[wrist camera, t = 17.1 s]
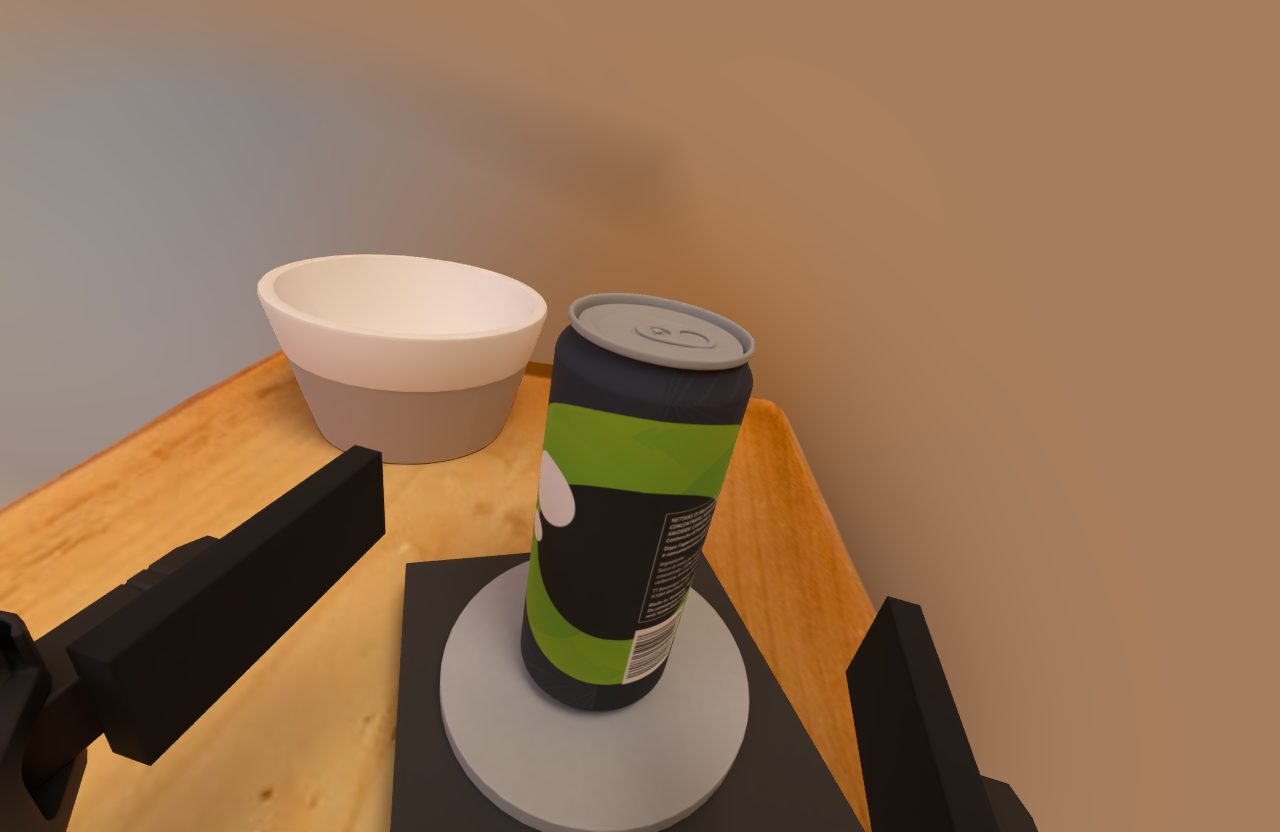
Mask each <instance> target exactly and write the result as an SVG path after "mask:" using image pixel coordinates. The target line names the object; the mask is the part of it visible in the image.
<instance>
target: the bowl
mask: <svg viewBox="0 0 1280 832" xmlns="http://www.w3.org/2000/svg"><path fill="white" fill-rule="evenodd" d="M257 293H258V297H259V299H260V302H261V304H262V306H263V308H264V311H265V313H266V315H267V317H268V319H269V322H270V324H271V326H272V328H273V330H274V333H275V335H276V337H277V339H278V342H279V344H280V346H281V348H282V350H283V351H284V353H285V355H286V358H287V360H288V362H289V364H290V366H291V369H292V371H293V373H294V375H295V377H296V380H297V382H298V384H299V386H300V388H301V391H302V393H303V395H304V397H305V399H306V402H307V404H308V406H309V408H310V411H311V413H312V415H313V417H314V419H315V422H316V424H317V426H318V428H319V430H320V432H321V433H322V435H323V436H324V437H325V439H326V440H327V441H329V442H330V443H331V444H332V445H334V446H335V447H337V448H339V449H341V450H343V451H347V450H348V449H350V448H351V447H353V446H354V445H358V446H362V447H365V448H369V449H372V450H376V451H380V452H382V462H386V463H400V464H419V463H433V462H439V461H446V460H451V459H454V458H458V457H462V456H466V455H468V454H470V453H473V452H475V451H478V450H480V449H482V448H483V447H485V446H486V445H488V444H490V443H491V442H492V441H493V440H494V439H495V438H496V437H497V436H498V435H499V434H500V432H501V430H502V429H503V427H504V424H505V422H506V419H507V417H508V414H509V411H510V409H511V406H512V403H513V401H514V398H515V396H516V393H517V390H518V388H519V385H520V382H521V380H522V377H523V374H524V372H525V369H526V367H527V364H528V361H529V359H530V357H531V355H532V352H533V350H534V347H535V344H536V342H537V339H538V336H539V334H540V331H541V329H542V326H543V323H544V321H545V318H546V315H547V305H546V303H545V301H544V299H543V298H542V297H541V295H539V294H538V293H537V292H536V291H535V290H533V289H532V288H530V287H529V286H527V285H525V284H523V283H521V282H519V281H517V280H515V279H512V278H510V277H507V276H505V275H502V274H499V273H496V272H493V271H489V270H486V269H482V268H478V267H474V266H470V265H465V264H460V263H455V262H450V261H444V260H437V259H430V258H421V257H411V256H397V255H341V256H329V257H320V258H313V259H307V260H302V261H297V262H292V263H289V264H286V265H283V266H281V267H278V268H275V269H273V270H272V271H270V272H268V273H267V274H265V275H264V276H263V277H262V279H261V280H260V281H259V283H258V285H257Z"/></svg>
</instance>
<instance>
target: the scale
mask: <svg viewBox="0 0 1280 832" xmlns="http://www.w3.org/2000/svg"><path fill="white" fill-rule="evenodd" d="M530 555H531V553H521V554H509V555H497V556H486V557H474V558H463V559H451V560H439V561H428V562H416V563H407V564H406V573H405V590H404V607H403V624H402V641H401V658H400V675H399V692H398V709H397V726H396V743H395V760H394V777H393V794H392V811H391V828H390V832H865V831H864V829H863V827H862V826H861V824H860V822H859V820H858V819H857V817H856V815H855V814H854V812H853V810H852V808H851V807H850V805H849V803H848V801H847V800H846V798H845V796H844V795H843V793H842V791H841V789H840V788H839V786H838V784H837V783H836V781H835V779H834V777H833V776H832V774H831V772H830V771H829V769H828V767H827V765H826V764H825V762H824V760H823V759H822V757H821V755H820V753H819V752H818V750H817V748H816V747H815V745H814V743H813V741H812V740H811V738H810V736H809V735H808V733H807V731H806V729H805V728H804V726H803V724H802V722H801V721H800V719H799V717H798V716H797V714H796V712H795V710H794V709H793V707H792V705H791V704H790V702H789V700H788V698H787V697H786V695H785V693H784V692H783V690H782V688H781V686H780V685H779V683H778V681H777V680H776V678H775V676H774V674H773V673H772V671H771V669H770V668H769V666H768V664H767V662H766V661H765V659H764V657H763V656H762V654H761V652H760V650H759V649H758V647H757V645H756V643H755V642H754V640H753V638H752V637H751V635H750V633H749V631H748V630H747V628H746V626H745V625H744V623H743V621H742V619H741V618H740V616H739V614H738V613H737V611H736V609H735V607H734V606H733V604H732V602H731V601H730V599H729V597H728V595H727V594H726V592H725V590H724V589H723V587H722V585H721V583H720V582H719V580H718V578H717V577H716V575H715V573H714V571H713V570H712V568H711V566H710V564H709V563H708V561H707V559H706V558H705V556H704V554H703V552H702V551H701V555H700V558H699V561H698V564H697V567H696V571H695V574H694V577H693V580H692V583H691V587H690V590H689V593H688V596H687V599H686V603H685V606H684V609H683V612H682V615H681V619H680V622H679V625H678V628H677V631H676V635H675V638H674V641H673V644H672V647H671V651H670V654H669V657H668V660H667V663H666V666H665V669H664V672H663V674H662V676H661V678H660V680H659V681H658V683H657V684H656V686H655V687H654V688H653V689H652V690H651V691H650V692H649V693H648V694H647V695H646V696H644V697H643V698H642V699H640V700H639V701H637V702H635V703H633V704H631V705H629V706H626V707H623V708H620V709H616V710H610V711H587V710H581V709H577V708H574V707H571V706H568V705H565V704H563V703H561V702H559V701H557V700H556V699H554V698H552V697H551V696H549V695H548V694H547V693H546V692H544V691H543V690H542V689H541V688H540V687H539V686H538V685H537V684H536V682H535V681H534V680H533V679H532V677H531V676H530V674H529V672H528V671H527V669H526V666H525V664H524V661H523V658H522V653H521V630H522V622H523V614H524V605H525V597H526V589H527V580H528V572H529V563H530Z"/></svg>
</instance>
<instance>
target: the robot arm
mask: <svg viewBox="0 0 1280 832" xmlns="http://www.w3.org/2000/svg"><path fill="white" fill-rule="evenodd" d="M384 534H385V510H384V488H383V465H382V452H380V451H376V450H372V449H369V448H365V447H362V446H358V445H354V446H353V447H351V448H350V449H348V450H347V451H345V452H344V453H343V454H341V455H340V456H338V457H337V458H335V459H334V460H333V461H331V462H330V463H328V464H327V465H325V466H324V467H323V468H321V469H320V470H318V471H317V472H315V473H314V474H313V475H311V476H310V477H308V478H307V479H305V480H304V481H303V482H301V483H300V484H298V485H297V486H295V487H294V488H292V489H291V490H290V491H288V492H287V493H285V494H284V495H282V496H281V497H280V498H278V499H277V500H275V501H274V502H272V503H271V504H270V505H268V506H267V507H265V508H264V509H262V510H261V511H260V512H258V513H257V514H255V515H254V516H252V517H251V518H250V519H248V520H247V521H245V522H244V523H242V524H241V525H240V526H238V527H237V528H235V529H234V530H232V531H231V532H230V533H228V534H227V535H225V536H224V537H222V538H221V539H217V538H214V537H211V536H208V535H207V536H205V537H202V538H200V539H197V540H195V541H192V542H190V543H187V544H185V545H182V546H180V547H177V548H175V549H174V550H172V551H171V552H169V553H168V554H166V555H165V556H163V557H162V558H160V559H159V560H157V561H156V562H154V563H153V564H151V565H150V566H149V568H148V569H147V570H145V569H144V570H142V571H141V572H139V573H138V574H136V575H135V576H133V577H131V578H130V579H128V580H127V583H126V584H124V585H122V584H121V585H119V586H118V587H116V588H115V589H113V590H112V591H110V592H109V593H107V594H106V595H104V596H103V597H101V598H100V599H98V600H97V601H95V602H94V603H92V604H91V605H89V606H88V607H86V608H85V609H83V610H82V611H80V612H79V613H77V614H76V615H74V616H73V617H71V618H70V619H68V620H67V621H65V622H63V623H62V624H60V625H59V626H57V627H56V628H54V629H53V630H51V631H50V632H48V633H47V634H45V635H44V636H42V637H41V638H39V639H38V640H36V641H33V639H32V637H31V635H30V633H29V631H28V629H27V627H26V625H25V623H24V621H23V620H22V619H21V618H20V617H19V616H18V615H17V614H15V613H10V612H5V611H0V832H66V830H67V827H68V823H69V820H70V817H71V814H72V810H73V807H74V804H75V800H76V797H77V794H78V791H79V787H80V784H81V781H82V777H83V774H84V771H85V768H86V764H87V748H86V747H88V746H89V745H90V744H91V743H92V742H93V741H95V740H96V739H97V738H98V737H99V736H100V735H101V734H103V733H104V734H105V736H106V738H107V741H108V743H109V745H110V747H111V749H112V752H113V753H116V754H119V755H121V756H124V757H127V758H130V759H132V760H135V761H138V762H141V763H143V764H146V765H149V766H151V765H152V764H153V763H154V762H155V761H156V760H157V759H158V758H159V757H160V756H161V755H162V754H163V753H164V752H165V751H166V750H167V749H168V748H169V747H170V746H171V745H172V744H174V743H175V742H176V741H177V740H178V739H179V738H180V737H181V736H182V735H183V734H184V733H185V732H186V731H187V730H188V729H189V728H190V727H191V726H192V725H193V724H194V723H195V722H196V721H197V720H198V719H199V718H200V717H201V716H202V715H203V714H204V713H205V712H206V711H207V710H208V709H209V708H210V707H211V706H212V705H213V704H214V703H215V702H216V701H217V700H218V699H219V698H220V697H221V696H222V695H223V694H224V693H225V692H226V691H227V690H228V689H229V688H230V687H231V686H232V685H233V684H234V683H235V682H236V681H237V680H238V679H239V678H240V677H241V676H242V675H243V674H244V673H245V672H246V671H247V670H248V669H249V668H250V667H251V666H252V665H253V664H254V663H255V662H256V661H257V660H258V659H259V658H260V657H261V656H262V655H263V654H264V653H265V652H266V651H267V650H268V649H269V648H270V647H271V646H272V645H273V644H274V643H275V642H276V641H277V640H278V639H279V638H280V637H281V636H282V635H283V634H284V633H285V632H286V631H288V630H289V629H290V628H291V627H292V626H293V625H294V624H295V623H296V622H297V621H298V620H299V619H300V618H301V617H302V616H303V615H304V614H305V613H306V612H307V611H308V610H309V609H310V608H311V607H312V606H313V605H314V604H315V603H316V602H317V601H318V600H319V599H320V598H321V597H322V596H323V595H324V594H325V593H326V592H327V591H328V590H329V589H330V588H331V587H332V586H333V585H334V584H335V583H336V582H337V581H338V580H339V579H340V578H341V577H342V576H343V575H344V574H345V573H346V572H347V571H348V570H349V569H350V568H351V567H352V566H353V565H354V564H355V563H356V562H357V561H358V560H359V559H360V558H361V557H362V556H363V555H364V554H365V553H366V552H367V551H368V550H369V549H370V548H371V547H372V546H373V545H374V544H375V543H376V542H377V541H378V540H379V539H380V538H381V537H382V536H383V535H384ZM846 676H847V682H848V689H849V695H850V701H851V707H852V713H853V719H854V725H855V731H856V737H857V743H858V749H859V756H860V762H861V768H862V774H863V780H864V786H865V792H866V798H867V804H868V810H869V816H870V823H871V829H872V832H1038V830H1037V828H1036V826H1035V823H1034V821H1033V818H1032V817H1031V815H1030V814H1029V812H1028V811H1027V809H1026V808H1025V807H1024V805H1023V804H1022V803H1021V801H1020V800H1019V798H1018V797H1017V795H1016V794H1015V793H1014V791H1013V790H1012V788H1011V787H1010V786H1009V784H1007V783H1004V782H1000V781H998V780H994V779H991V778H988V777H985V776H981V775H980V773H979V770H978V767H977V764H976V761H975V759H974V756H973V753H972V750H971V747H970V745H969V742H968V739H967V736H966V733H965V730H964V728H963V725H962V722H961V719H960V716H959V714H958V711H957V708H956V705H955V702H954V700H953V697H952V694H951V691H950V688H949V685H948V683H947V680H946V677H945V674H944V672H943V669H942V666H941V663H940V660H939V657H938V654H937V652H936V649H935V646H934V643H933V640H932V638H931V635H930V633H929V629H928V627H927V624H926V621H925V618H924V615H923V612H922V609H921V607H920V605H917V604H913V603H910V602H906V601H903V600H899V599H896V598H892V597H889V596H887V598H886V599H885V601H884V603H883V605H882V607H881V609H880V610H879V612H878V614H877V616H876V618H875V619H874V621H873V623H872V625H871V627H870V629H869V630H868V632H867V634H866V636H865V638H864V639H863V641H862V643H861V645H860V647H859V649H858V650H857V652H856V654H855V656H854V658H853V659H852V661H851V663H850V665H849V667H848V669H847V670H846Z"/></svg>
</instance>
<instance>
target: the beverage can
mask: <svg viewBox="0 0 1280 832" xmlns="http://www.w3.org/2000/svg"><path fill="white" fill-rule="evenodd" d="M568 318H569V322H570V325H569V326H568V327H566V328H565V330H564V331H563V332H562V333H561V334H560V336H559V338H558V340H557V343H556V347H555V354H554V363H553V371H552V379H551V388H550V396H549V404H548V413H547V421H546V430H545V438H544V446H543V455H542V463H541V471H540V480H539V488H538V496H537V505H536V513H535V522H534V530H533V538H532V547H531V555H530V563H529V572H528V580H527V589H526V597H525V605H524V614H523V622H522V630H521V653H522V658H523V661H524V664H525V666H526V669H527V671H528V672H529V674H530V676H531V677H532V679H533V680H534V681H535V682H536V684H537V685H538V686H539V687H540V688H541V689H542V690H543V691H544V692H546V693H547V694H548V695H549V696H551V697H552V698H554V699H556V700H557V701H559V702H561V703H563V704H565V705H568V706H571V707H574V708H577V709H581V710H587V711H610V710H616V709H620V708H623V707H626V706H629V705H631V704H633V703H635V702H637V701H639V700H640V699H642V698H643V697H644V696H646V695H647V694H648V693H649V692H650V691H651V690H652V689H653V688H654V687H655V686H656V684H657V683H658V681H659V680H660V678H661V676H662V674H663V672H664V669H665V666H666V663H667V660H668V657H669V654H670V651H671V647H672V644H673V641H674V638H675V635H676V631H677V628H678V625H679V622H680V619H681V615H682V612H683V609H684V606H685V603H686V599H687V596H688V593H689V590H690V587H691V583H692V580H693V577H694V574H695V571H696V567H697V564H698V561H699V558H700V555H701V551H702V548H703V545H704V542H705V539H706V535H707V532H708V529H709V526H710V523H711V519H712V516H713V513H714V510H715V507H716V503H717V500H718V497H719V494H720V491H721V487H722V484H723V481H724V478H725V475H726V471H727V468H728V465H729V462H730V459H731V455H732V452H733V449H734V446H735V443H736V439H737V436H738V433H739V430H740V427H741V423H742V420H743V417H744V414H745V411H746V407H747V404H748V401H749V398H750V394H751V391H752V387H753V378H752V373H751V370H750V368H749V365H748V361H749V360H750V359H751V358H752V357H753V354H754V351H755V342H754V340H753V338H752V337H751V335H750V334H749V333H748V332H747V331H746V330H745V329H743V328H742V327H740V326H739V325H737V324H736V323H734V322H732V321H731V320H729V319H726V318H724V317H722V316H720V315H718V314H716V313H713V312H711V311H708V310H705V309H702V308H699V307H696V306H693V305H690V304H686V303H682V302H679V301H674V300H670V299H665V298H660V297H654V296H647V295H639V294H629V293H603V294H594V295H589V296H585V297H582V298H580V299H577V300H576V301H574V302H573V303H572V305H571V306H570V308H569V313H568Z"/></svg>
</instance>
